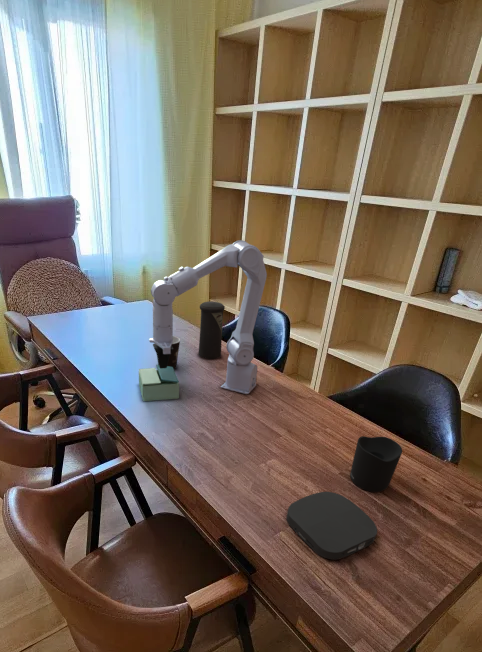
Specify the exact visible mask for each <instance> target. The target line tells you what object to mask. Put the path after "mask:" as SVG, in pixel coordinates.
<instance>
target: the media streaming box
mask: <svg viewBox="0 0 482 652" xmlns="http://www.w3.org/2000/svg"><path fill="white" fill-rule="evenodd" d="M286 522H287V524H288V525H289V526H290V528H291V529H292V530H293V531H294V532H295V533H296V534H297V535H298V536H299V537H300V538H301V539H302V541H303V542H304V543H305V544H306V545H307V546H308V547H309V548H310V549H312V550H313V551H314V552H315V553H316V554H317V555H318V556H320V557H322V558H324V559H328V560H332V561H333V560H334V561H336V560H341V559H343V558H346V557H348V556H351V555H353V554H355V553H357V552H359V551H361V550H363V549H365V548H367V547H369V546H370V545H372V544H373V543H374V542H375V540H376V537H377V534H378V527H377V525H376V523H375V522H374V520H373V519H372V518H371V517H370V516H369V515H368V514H367V513H366V512H365V511H364V510H362V508H361V507H360V506H358V505H357V504H355V503H354V502H353V501H351V500H350V499H349V498H347V497H345V496H344V495H342V494H339V493H336V492H331V491H320V492H315V493H312V494H309V495H306V496H303V497H301V498H299V499H297V500H296V501H293V502H292V503H291V504H290V505H289V506H288V508H287V513H286Z"/></svg>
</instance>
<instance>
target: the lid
mask: <svg viewBox="0 0 482 652" xmlns="http://www.w3.org/2000/svg"><path fill="white" fill-rule="evenodd" d="M155 365H156V370H158V372H159V375H160V377H161V380H162V381H170V382H178V383H179V384H180V380H179V378H178V376H177V373H176V371H175V369H173V367H170V366H167V368H160V367H159V365H158V364H155Z"/></svg>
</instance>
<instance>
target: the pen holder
mask: <svg viewBox="0 0 482 652" xmlns="http://www.w3.org/2000/svg"><path fill="white" fill-rule="evenodd" d="M402 454H403V449H402V446H401V445H400V444H399V443H398V441H396V440H394V439H392V438H390V437H387V436H374V437H373V436H365V435H364V436H363V435H361V436H360V437H358V438H357V443H356V447H355V451H354V455H353V459H352V464H351V468H350V475H349V477H350V480H351V482H352V483H353V484H354V485H355V486H356V487H358V488H359V489H361V490H364V491H366V492H370V493H378V492H379V493H380V492H384V491H385V490H387V489H388V487H389V486H390V484H391V481H392V479H393V476H394V474H395V471H396V469H397V466H398V463H399V461H400V459H401V456H402Z"/></svg>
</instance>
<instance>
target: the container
mask: <svg viewBox="0 0 482 652" xmlns="http://www.w3.org/2000/svg"><path fill="white" fill-rule="evenodd" d="M199 310H200V326H199V341H198V356H199V357H200V358H202V359H205V360H216V359H219V358H221V356H222V341H223V340H222V339H223V320H224V310H225V305H224V304H223V303H222V302H218V301H212V300H211V301H204V302H201V304H199Z"/></svg>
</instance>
